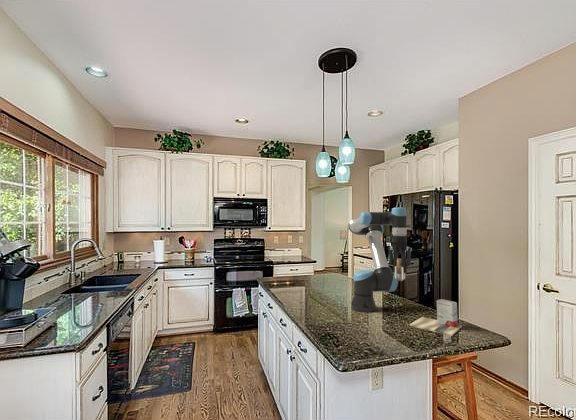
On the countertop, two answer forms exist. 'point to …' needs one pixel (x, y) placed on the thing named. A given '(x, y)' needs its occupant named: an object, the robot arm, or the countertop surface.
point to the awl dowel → (399, 269)
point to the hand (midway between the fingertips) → (400, 278)
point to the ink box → (447, 312)
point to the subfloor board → (435, 326)
